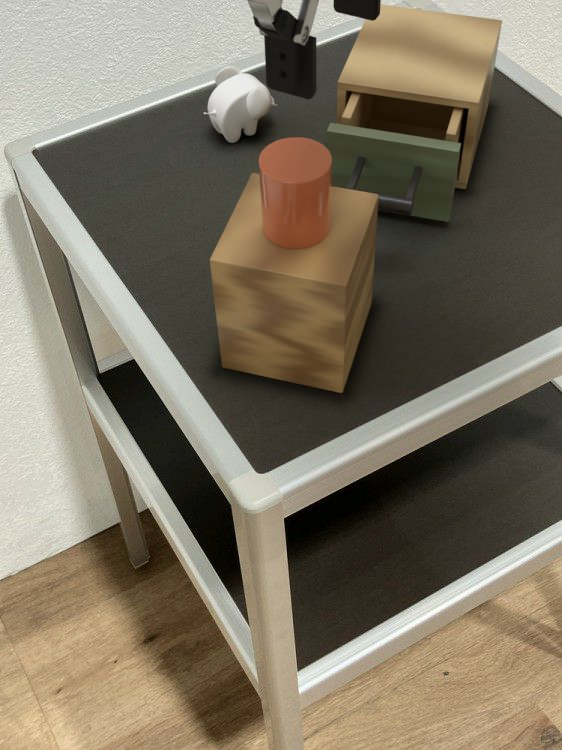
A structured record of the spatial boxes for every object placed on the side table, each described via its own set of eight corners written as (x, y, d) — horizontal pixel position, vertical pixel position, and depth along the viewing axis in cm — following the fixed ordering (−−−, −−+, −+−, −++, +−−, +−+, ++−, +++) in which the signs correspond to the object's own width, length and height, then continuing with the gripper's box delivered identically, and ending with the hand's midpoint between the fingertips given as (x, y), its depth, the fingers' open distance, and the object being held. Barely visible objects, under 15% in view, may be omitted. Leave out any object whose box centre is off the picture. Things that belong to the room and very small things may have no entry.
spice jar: (338, 209, 71) (339, 143, 67) (320, 255, 68) (321, 188, 64) (273, 198, 72) (270, 131, 68) (253, 242, 69) (249, 176, 65)
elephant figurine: (292, 133, 97) (291, 81, 92) (224, 162, 94) (220, 110, 90) (256, 100, 101) (253, 49, 96) (189, 128, 98) (183, 76, 93)
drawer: (436, 265, 83) (446, 195, 77) (309, 241, 86) (308, 171, 79) (472, 138, 94) (482, 68, 88) (358, 121, 96) (361, 51, 90)
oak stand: (371, 304, 82) (378, 193, 72) (342, 393, 76) (346, 285, 66) (259, 282, 84) (252, 172, 74) (221, 367, 78) (209, 259, 68)
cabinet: (465, 189, 91) (479, 102, 83) (335, 167, 93) (337, 81, 86) (488, 105, 99) (502, 19, 92) (368, 87, 101) (372, 2, 94)
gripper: (332, -308, 55) (329, -23, 68) (176, -197, 46) (208, 110, 59) (456, -293, 53) (429, -1, 66) (320, -172, 43) (319, 141, 57)
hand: (325, 51), depth 63 cm, fingers open, 9 cm apart
